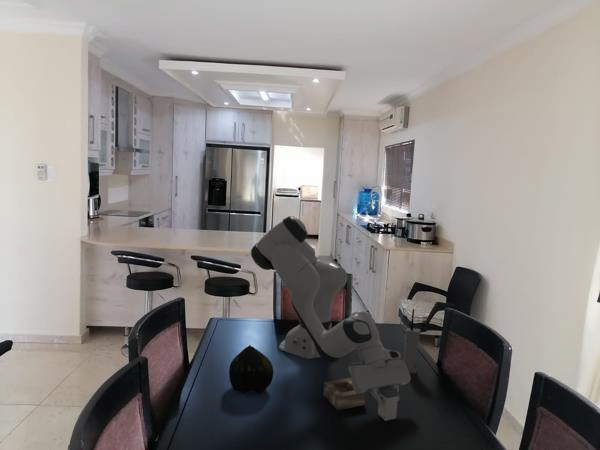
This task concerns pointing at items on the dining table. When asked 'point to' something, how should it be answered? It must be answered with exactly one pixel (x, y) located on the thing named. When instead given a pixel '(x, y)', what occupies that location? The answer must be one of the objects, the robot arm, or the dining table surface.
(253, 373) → the squash
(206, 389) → the dining table surface
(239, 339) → the dining table surface
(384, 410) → the pale rectangular box
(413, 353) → the vintage mobile phone
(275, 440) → the dining table surface
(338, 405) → the box
